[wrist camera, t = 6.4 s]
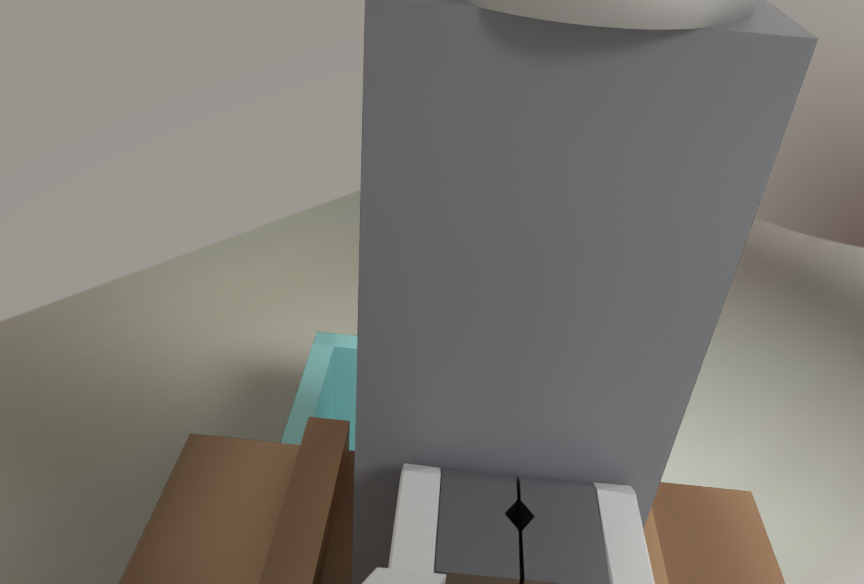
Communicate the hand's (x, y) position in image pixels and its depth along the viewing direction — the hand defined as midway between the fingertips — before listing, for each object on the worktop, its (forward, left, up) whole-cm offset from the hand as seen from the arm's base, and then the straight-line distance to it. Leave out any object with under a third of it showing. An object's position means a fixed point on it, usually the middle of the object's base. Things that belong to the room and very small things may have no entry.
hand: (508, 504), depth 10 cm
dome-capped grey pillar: (0, -2, -6) cm, 6 cm away
